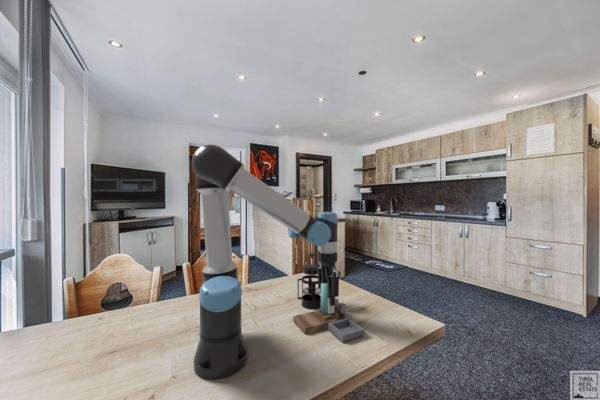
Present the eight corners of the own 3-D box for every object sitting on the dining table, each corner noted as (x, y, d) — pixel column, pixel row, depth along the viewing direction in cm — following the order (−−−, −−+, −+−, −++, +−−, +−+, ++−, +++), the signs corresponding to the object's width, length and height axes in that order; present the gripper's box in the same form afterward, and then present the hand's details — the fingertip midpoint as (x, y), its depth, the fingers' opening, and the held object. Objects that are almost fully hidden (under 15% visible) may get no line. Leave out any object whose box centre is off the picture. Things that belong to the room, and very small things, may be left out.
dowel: (323, 318, 95) (324, 286, 95) (319, 313, 99) (319, 283, 99) (332, 316, 97) (333, 285, 97) (327, 311, 100) (327, 282, 100)
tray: (342, 343, 82) (342, 335, 82) (328, 330, 91) (328, 323, 90) (364, 336, 86) (364, 329, 86) (348, 324, 94) (348, 317, 94)
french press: (321, 299, 117) (321, 251, 117) (325, 308, 108) (325, 255, 108) (296, 301, 116) (296, 251, 115) (298, 310, 106) (298, 256, 106)
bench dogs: (341, 322, 96) (341, 306, 96) (329, 313, 103) (329, 299, 103) (347, 320, 97) (347, 305, 97) (335, 312, 105) (335, 297, 104)
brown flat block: (304, 336, 88) (304, 324, 88) (293, 323, 97) (293, 313, 97) (342, 326, 95) (342, 315, 95) (328, 315, 104) (328, 305, 104)
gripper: (348, 254, 92) (348, 317, 92) (324, 246, 107) (324, 300, 107) (331, 257, 89) (331, 322, 89) (309, 248, 104) (309, 304, 104)
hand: (327, 310), depth 98 cm, fingers closed on dowel, 4 cm apart
